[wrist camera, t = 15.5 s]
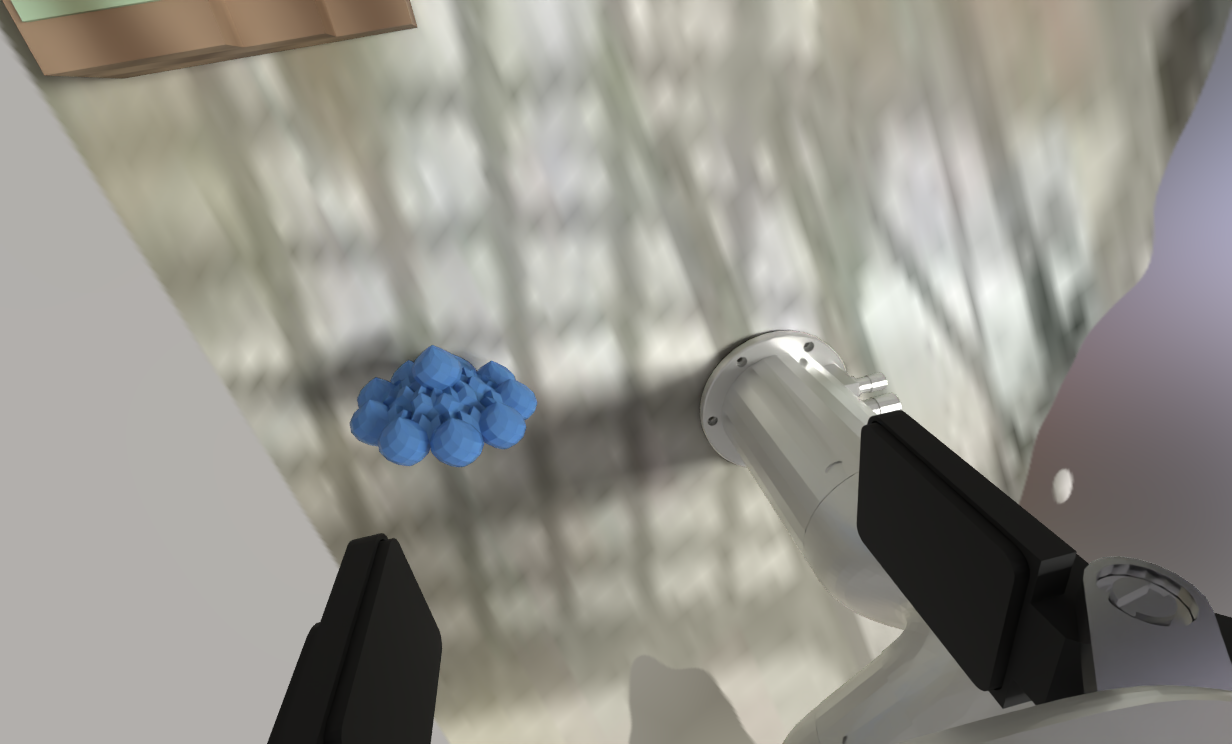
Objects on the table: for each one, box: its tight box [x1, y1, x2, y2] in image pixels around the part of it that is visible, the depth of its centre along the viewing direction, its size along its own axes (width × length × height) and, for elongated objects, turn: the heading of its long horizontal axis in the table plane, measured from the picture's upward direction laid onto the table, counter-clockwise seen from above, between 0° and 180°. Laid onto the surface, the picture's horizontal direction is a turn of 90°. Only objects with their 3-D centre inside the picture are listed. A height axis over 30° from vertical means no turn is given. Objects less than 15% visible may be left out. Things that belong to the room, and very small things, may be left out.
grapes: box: [350, 345, 537, 467], centre depth 36 cm, size 12×7×12 cm, turn 92°
